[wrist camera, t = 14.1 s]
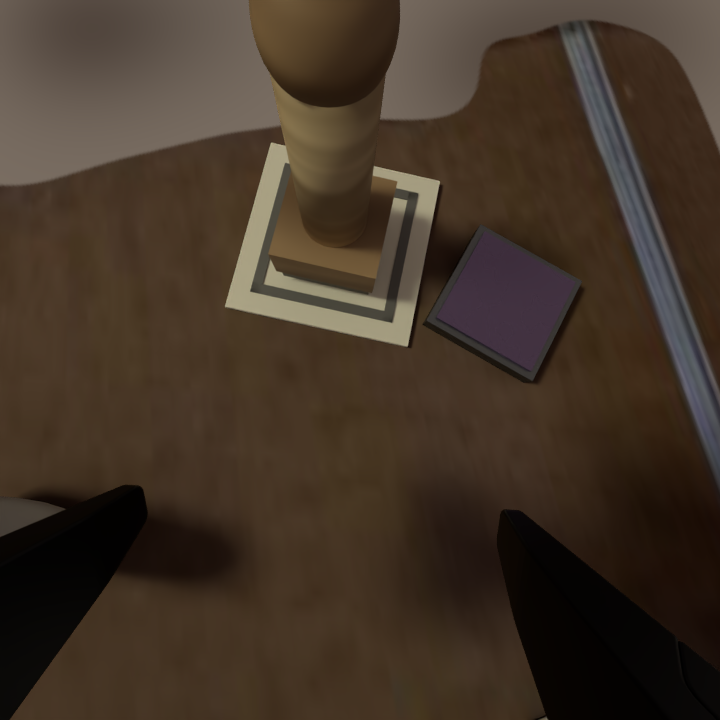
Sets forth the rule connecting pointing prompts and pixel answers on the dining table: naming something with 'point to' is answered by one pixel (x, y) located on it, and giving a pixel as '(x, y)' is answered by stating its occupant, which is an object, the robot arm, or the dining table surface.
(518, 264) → the ink pad
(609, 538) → the dining table surface
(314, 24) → the stamp
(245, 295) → the print card
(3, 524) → the donut
